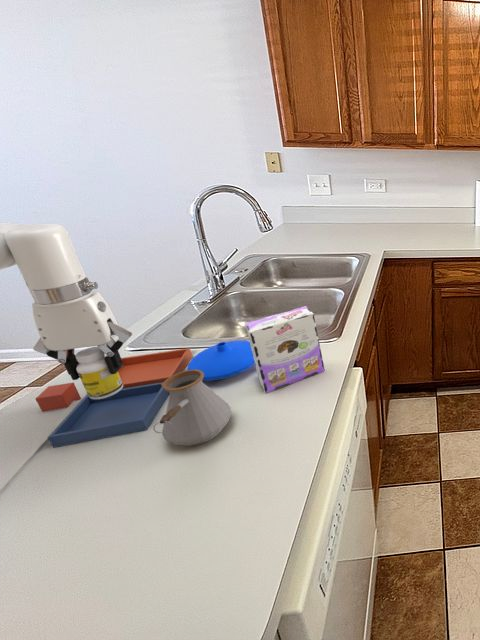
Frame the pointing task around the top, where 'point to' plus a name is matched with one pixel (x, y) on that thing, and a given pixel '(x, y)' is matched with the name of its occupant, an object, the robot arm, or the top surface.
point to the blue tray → (110, 415)
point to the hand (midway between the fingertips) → (98, 372)
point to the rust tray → (153, 367)
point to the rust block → (57, 396)
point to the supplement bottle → (97, 374)
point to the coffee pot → (192, 410)
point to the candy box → (285, 348)
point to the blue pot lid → (223, 360)
